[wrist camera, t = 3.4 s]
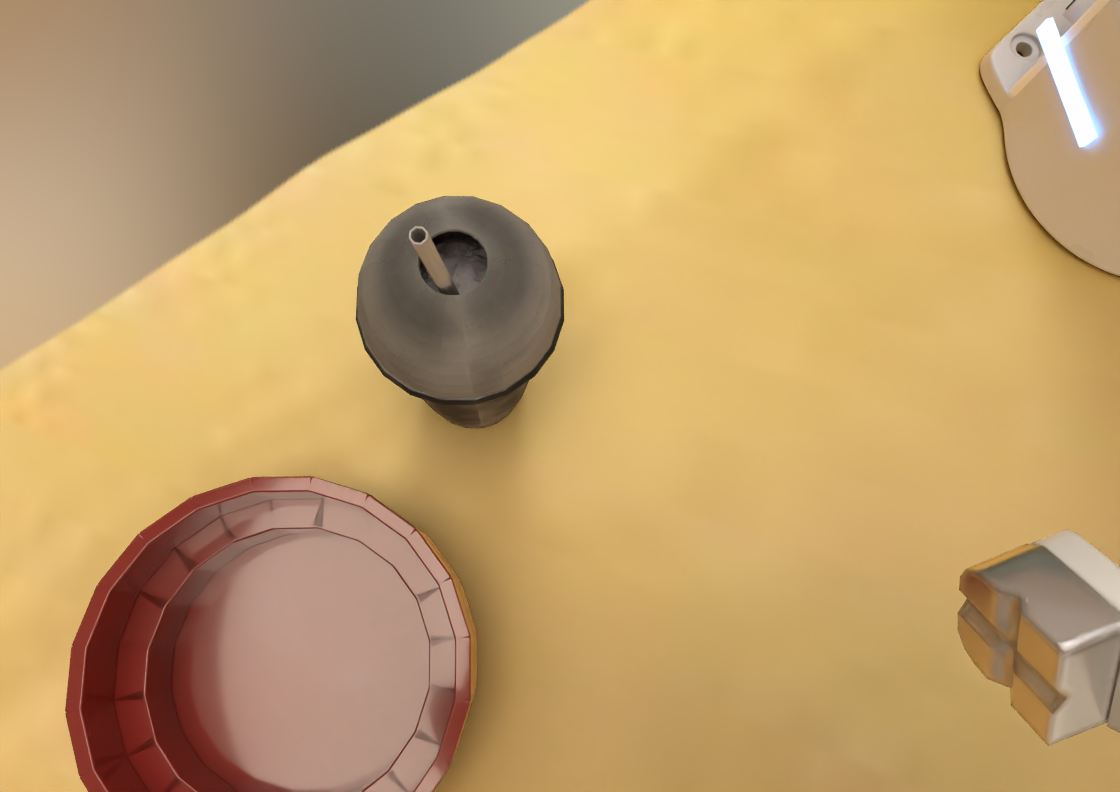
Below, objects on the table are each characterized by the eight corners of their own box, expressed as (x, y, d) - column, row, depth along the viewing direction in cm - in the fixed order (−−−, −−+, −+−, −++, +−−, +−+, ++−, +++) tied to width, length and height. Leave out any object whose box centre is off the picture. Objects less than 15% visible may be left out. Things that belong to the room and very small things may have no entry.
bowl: (281, 431, 41) (243, 403, 35) (542, 618, 40) (547, 622, 34) (62, 708, 38) (-21, 728, 32) (337, 921, 37) (304, 982, 31)
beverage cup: (577, 350, 43) (630, 141, 23) (508, 484, 41) (502, 383, 22) (443, 283, 43) (384, 24, 24) (369, 414, 41) (240, 252, 22)
